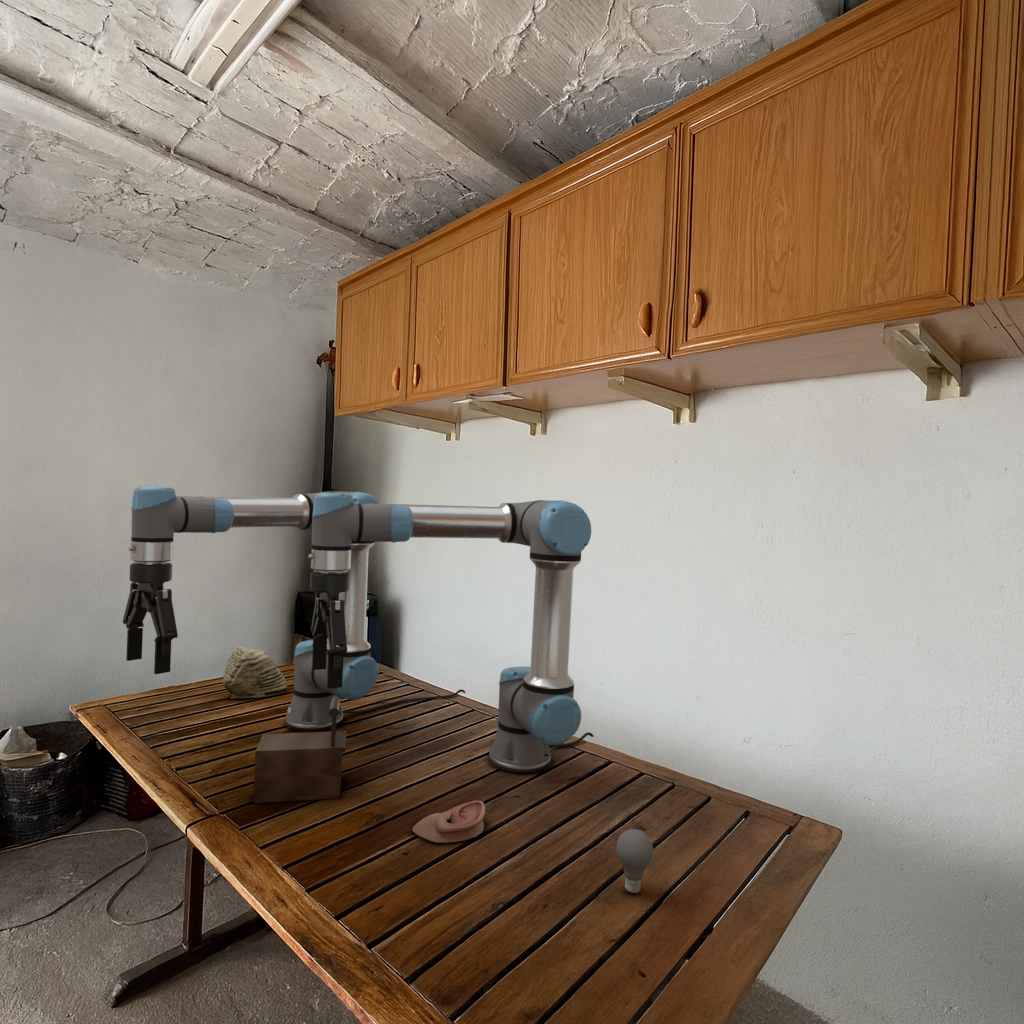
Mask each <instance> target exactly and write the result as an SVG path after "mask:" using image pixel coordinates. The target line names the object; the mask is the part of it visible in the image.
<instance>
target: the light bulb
mask: <svg viewBox="0 0 1024 1024" xmlns="http://www.w3.org/2000/svg"><path fill="white" fill-rule="evenodd" d="M615 849H616V854H617V857H618V859H619V861H620V863H621V865H622V867H623V873H624V874H623V875H624V876H625V878H624V888H625V890H627V891H628V892H630V893H634V894H635V893H639V892H640V891H641V889H642V887H641V886H642V879H643V877H644V875H645V871H646V868H647V867H648V866H649V864H650V863H651V861H652V859H653V855H654V847H653V843H652V841H651V838H649V836H648V835H647V834H646V833H645V832H643V831H642V830H641V829H636V828H629V829H627V830H625V831H623V832H622V833H621V834H620V835H619V837H618V839H617V841H616V847H615Z"/></svg>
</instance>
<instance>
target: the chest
mask: <svg viewBox="0 0 1024 1024" xmlns="http://www.w3.org/2000/svg"><path fill="white" fill-rule="evenodd" d="M254 759H255V760H254V785H253V804H263V803H265V804H266V803H279V802H296V801H299V802H300V801H313V800H316V801H317V800H329V799H340V798H341V789H342V788H341V787H342V770H343V753H322V754H299V755H277V756H255V758H254Z"/></svg>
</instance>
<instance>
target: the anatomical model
mask: <svg viewBox="0 0 1024 1024" xmlns="http://www.w3.org/2000/svg"><path fill="white" fill-rule="evenodd" d="M485 816H486V806H485V803H484V802H483V801H482V800H472V801H468V802H466V803H462V804H459V805H457V806H454V807H452V808H450V809H448V810H446V811H442V812H436V813H432V814H429V815H427V816H425V817H424V818H421V820H419V821H418V822H417V823H416V824H414V825H413V826H412V829H411V831H412V832H413V834H415V835H416V836H418V837H420V838H421V839H424V840H426V841H429V842H432V843H436V844H437V843H438V844H446V843H455V842H462V841H466V840H470V839H473V838H476V837H478V836H479V835H480V834H482V833H483V831H484V829H485V823H484V818H485Z"/></svg>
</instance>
